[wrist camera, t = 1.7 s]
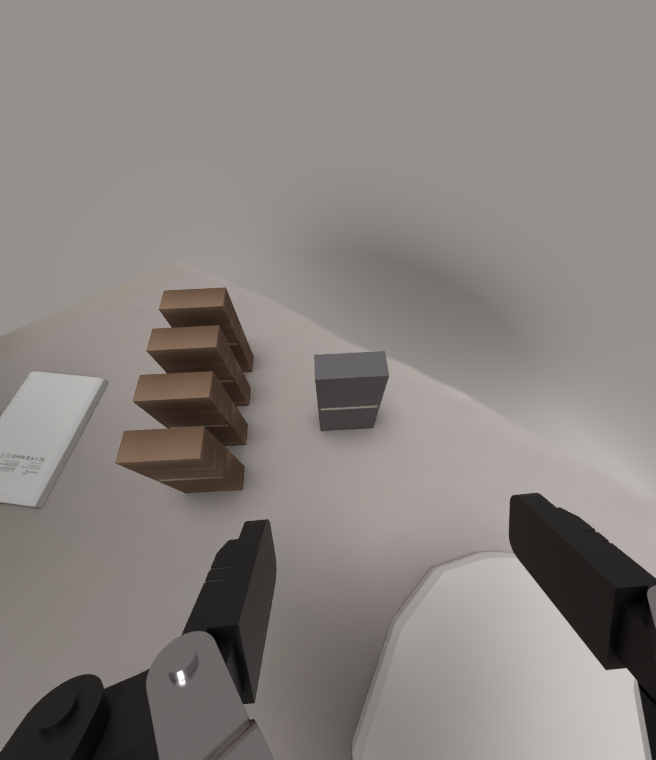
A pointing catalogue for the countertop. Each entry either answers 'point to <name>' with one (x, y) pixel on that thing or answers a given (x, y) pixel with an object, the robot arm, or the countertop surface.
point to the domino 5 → (350, 389)
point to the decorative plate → (492, 676)
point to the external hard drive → (43, 433)
